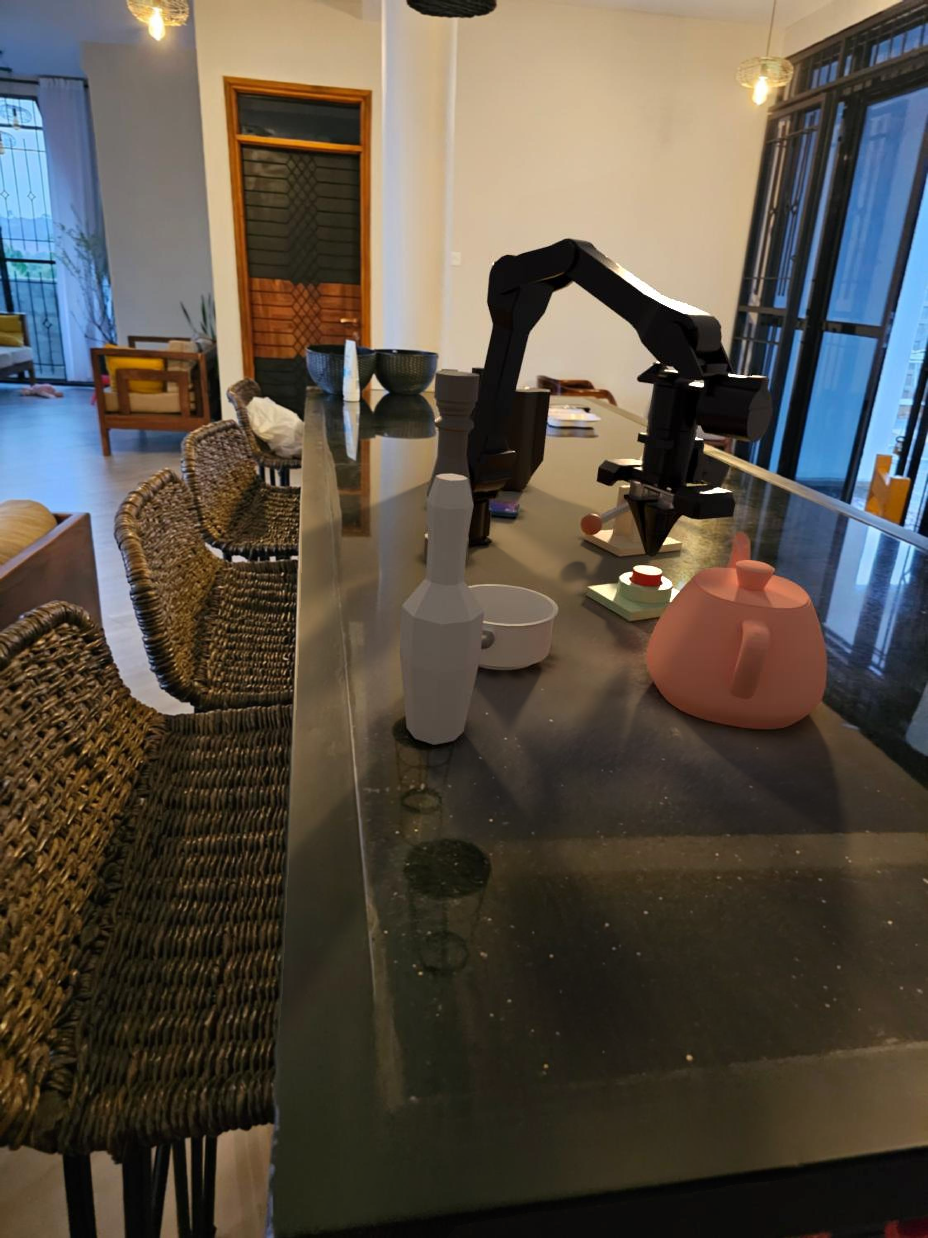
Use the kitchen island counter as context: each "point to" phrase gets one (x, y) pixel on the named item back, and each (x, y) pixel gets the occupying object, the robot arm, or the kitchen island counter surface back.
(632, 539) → the switch bracket
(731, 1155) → the kitchen island counter surface
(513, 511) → the smartphone
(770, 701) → the teapot
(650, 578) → the button
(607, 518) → the switch lever
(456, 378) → the candle holder
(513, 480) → the brown vase set
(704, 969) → the kitchen island counter surface
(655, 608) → the button housing
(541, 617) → the saucepan
